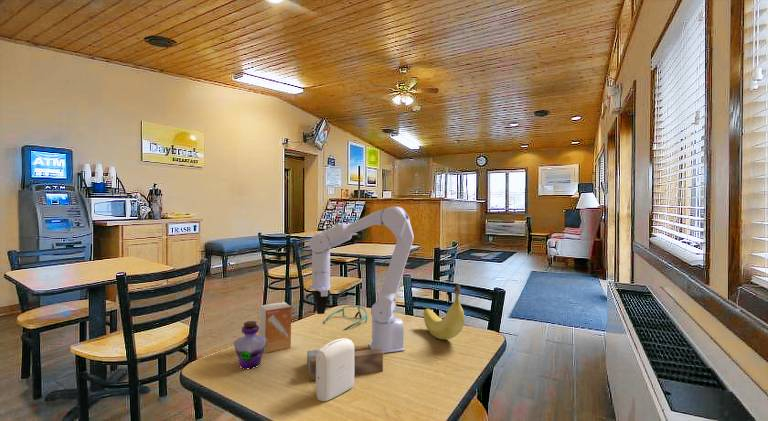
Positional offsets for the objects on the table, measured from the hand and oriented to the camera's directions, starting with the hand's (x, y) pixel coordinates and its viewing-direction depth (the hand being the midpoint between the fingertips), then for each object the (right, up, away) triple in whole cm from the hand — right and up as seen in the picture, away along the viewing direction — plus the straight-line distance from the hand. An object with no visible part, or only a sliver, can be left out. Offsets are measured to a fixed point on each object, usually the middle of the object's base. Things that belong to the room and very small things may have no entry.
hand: (320, 313), depth 121 cm
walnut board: (+10, -10, -21) cm, 26 cm away
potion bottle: (-17, -10, -17) cm, 26 cm away
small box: (-13, -10, -4) cm, 17 cm away
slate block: (+3, -10, -18) cm, 21 cm away
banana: (+39, -10, +5) cm, 41 cm away
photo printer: (+9, -11, -31) cm, 34 cm away
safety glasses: (+6, -10, +21) cm, 24 cm away
